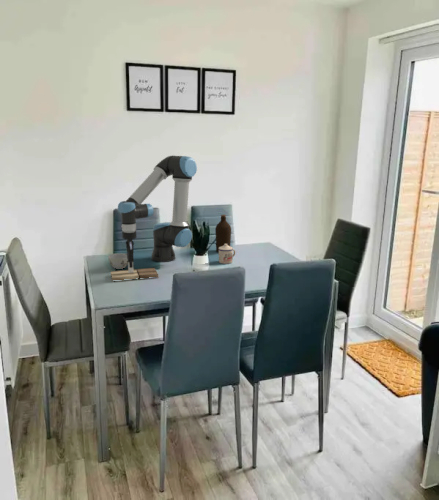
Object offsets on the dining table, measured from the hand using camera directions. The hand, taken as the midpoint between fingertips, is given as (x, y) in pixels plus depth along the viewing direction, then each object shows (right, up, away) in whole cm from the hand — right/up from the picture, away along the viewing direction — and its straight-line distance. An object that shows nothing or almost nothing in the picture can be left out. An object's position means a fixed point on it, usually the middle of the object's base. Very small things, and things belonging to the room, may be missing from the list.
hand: (131, 272), depth 246 cm
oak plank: (-3, -3, 0) cm, 4 cm away
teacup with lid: (+54, +5, +31) cm, 63 cm away
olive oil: (+52, +11, +54) cm, 76 cm away
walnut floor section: (+9, -2, +3) cm, 9 cm away
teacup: (-10, +2, +17) cm, 20 cm away
